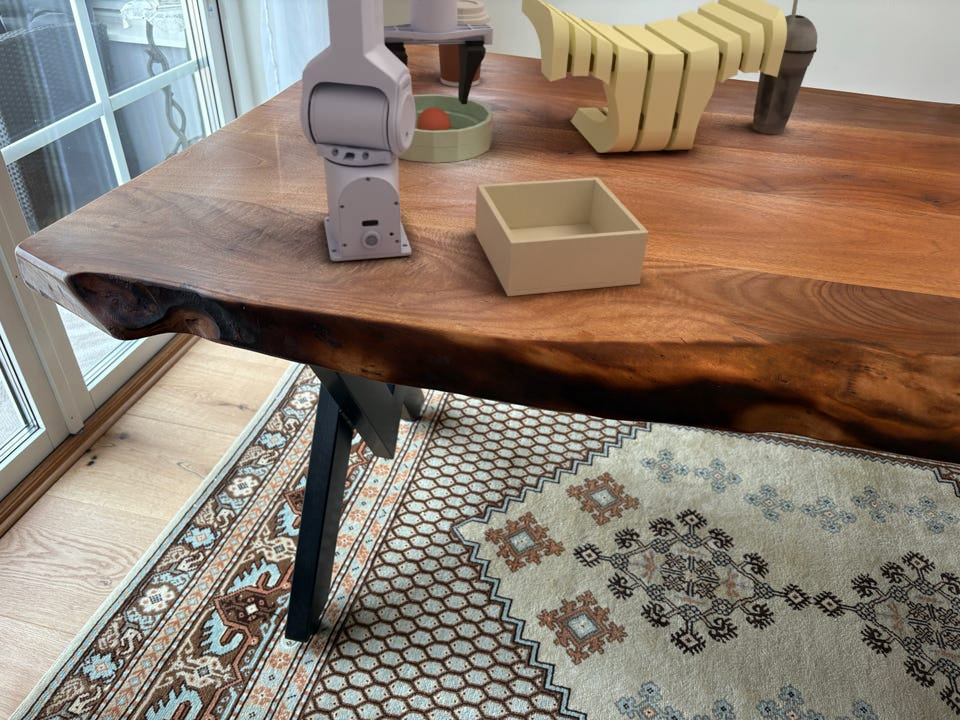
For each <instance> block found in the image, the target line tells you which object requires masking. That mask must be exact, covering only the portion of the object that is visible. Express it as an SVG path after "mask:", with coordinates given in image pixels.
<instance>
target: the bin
mask: <svg viewBox="0 0 960 720" xmlns="http://www.w3.org/2000/svg"><path fill="white" fill-rule="evenodd" d="M475 196H476V197H475V219H474V220H475V221H474V222H475V225H474V234H475V236H476V238H477V240H478V242H479V244H480V246H481V248H482V250H483V252H484V254H485V255H486V257H487V260H488V261H489V263H490V265H491V267H492V269H493V271H494V272H495V275H496V277H497V279H498V280H499V283H500V285H501V286H502V288H503V290H504V292H505V295H506V296H507V297H516V296H526V295H535V294H537V295H538V294H547V293H559V292H569V291H579V290H590V289H601V288H602V289H603V288H611V287H623V286H632V285H640V283H641V279H642V272H643V267H644V261H645V257H646V251H647V245H648V240H649V231H648V230H647V229H646V227H644V225H643V224H642V223H641V222H640V221H639V220H638V219H637V218H636V216H634V214H633V213H632V212H631V211H630V210H629V208H627V207H626V206H625V205H624V204H623V203H622V202H621V201H620V199H619V198H618V197H617V196H616V195H615V194H614V193H613V192H612V191H611V190H610V189H609V187H607V186H606V184H605V183H604V182H603V181H602V180H601V179H600V178H599V177H597V176H596V177H583V178H581V177H580V178H564V179H547V180H534V181H533V180H532V181H531V180H530V181H518V182H517V181H516V182H515V181H514V182H498V183H484V184H483V183H482V184H476V195H475Z"/></svg>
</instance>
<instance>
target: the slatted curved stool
mask: <svg viewBox="0 0 960 720" xmlns="http://www.w3.org/2000/svg"><path fill="white" fill-rule="evenodd" d="M521 12H522V13H523V14H524V15H525V16H526V18H527V19H528V20H529V22H530V24H532V26H533V28H534V30H535V32H536V35H537V38H538V41H539V46H540V47H539V49H540V63H541V64H540V72H541V73H542V74H543V76H544V77H545V78H547V80H548V81H549V82H550V83H551V82H554V81H557V80H562V79H566V78H567V73H569V74H570V75H571V76H572V77H589V73H590V75H592V76H593V77H594V78H595V79H598V80H601V82H602V87H603V90H604V93H605V97H606V102H607V107H606V106H603V107H601V110H599V109H598V108H597V107H578V108H577V110H576V111H575V114H574V115H573V117H572V118H571V119H570V123H571V124H572V125H573V126H574V127H575V128H576V129H577V130H578V131H579V133H580V134H581V135H582V136H583V137H584V139H586V141H587V142H588V143H589V144H590V145H591V146H592V147H593V149H595V151H596V152H597V153H601V154H602V153H604V154H605V153H626V152H627V153H628V152H630V151H631V152H655V151H657V152H658V151H659V152H660V151H663V150H664V151H680V150H681V151H682V150H683V151H684V150H692V149H693V147H694V142H695V137H696V133H697V129H698V125H699V122H700V120H701V118H702V116H703V113H704V111H705V109H706V107H707V105H708V104H709V101H710V100H711V97H712V96H713V94H714V89H715V85H716V81H718V82H720V84H723V83H725V81H727V80H729V79H731V78H733V77H736V76H738V73H739V72H741V73H743V74H751V73H752V74H753V73H754V74H758V73H759V72H760V71H761V72H763V73H764V74H768V75H772V76H775V77H777V76H778V72H779V68H780V64H781V60H782V56H783V52H784V48H785V44H786V38H787V23H786V18H785V16H786V15H785V13H784V12H783V10H782V8H780V7H778V6H776V5H774V4H771V3H769V2H767V1H764V0H717V2H716V1H714V0H710V1H708V2H706V3H704V4H702V5H700V6H698V7H697V12H695V11H693V10H689V11H686V12H683V13H681V14H679V15H678V14H677V20H676V19H674V18H673V17H669V18H664V19H662V20H659V21H658V20H657V21H653V22H648V23H644V27H643V26H642V25H640V24H626V25H625V24H612V26H610V25H609V24H607V23H603V22H598V21H593V20H590V19H586V18H583V17H581V18H578V17H577V16H576V15H574V14H571V13H569V12H567V11H564V10H560V9H559V8H557V7H556V6H554V5H552V4H550V3H548V2H546V1H544V0H521Z"/></svg>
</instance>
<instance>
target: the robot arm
mask: <svg viewBox="0 0 960 720" xmlns="http://www.w3.org/2000/svg"><path fill="white" fill-rule="evenodd" d="M326 1H327V3H326V4H327V17H328V32H329V45H328V46H327V47H326V48H324V49H323V50H322V51H321V52H319V53H318V54H317V55H314V57H313V58H311V59H310V60H309V62H308V63H306V65H305V67H304V69H303V70H302V74H301V84H302V85H301V87H302V89H301V99H300V104H299V119H300V126H301V130H302V132H303V134H304V136H305V138H306V140H307V141H308V143H309V144H310V145H312V146H315V147H316V156H318V157H323V163H324V176H325V187H326V189H325V190H326V199H327V212H328V213H327V214H328V216H325V217H324V218H323V224H324V230H325V235H326V242H327V246H328V252H329V258H330V260H331V261H332V262H343V261H355V260H369V259H380V258H381V259H382V258H393V257H407V256H410V255H412V248H411V246H410V242H409V239H408V237H407V233H406V231H405V228H404V225H403V223H402V219H401V218H402V216H401V198H400V197H401V196H400V177H399V175H400V173H399V172H400V171H399V158H398V155H402V154H403V153H404V152H405V151H406V150H407V149H408V148H409V147H410V145H411V142H412V139H413V135H414V129H415V119H416V110H415V101H414V97H413V95H414V94H413V87H412V76H411V74H410V69H409V67H408V60H409V56H408V54H407V49H406V47H405V46H420V45H422V46H424V45H438V44H458V47H459V67H460V74H459V87H458V91H457V93H458V95H457V96H458V97H459V101H460V102H461V104H462V105H463V104H467V101H468V99H469V96H470V91H471V88H472V86H471V85H472V82H473V79H474V77H475V74H476V72H477V70H478V68H479V66H480V64H481V65H482V62H483V60H484V59H485V57H486V53H487V51H486V50H487V48H486V47H485V46H486V45H488V46H489V45H491V46H492V45H493V43H494V42H493V40H494V28H493V27H492V26H491V25H490V24H486V25H475V24H459V23H457V9H458V0H409V19H410V23H403V24H393V25H384V0H326ZM484 45H485V46H484Z"/></svg>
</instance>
